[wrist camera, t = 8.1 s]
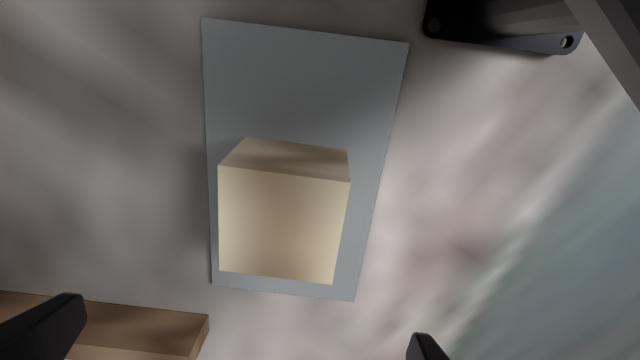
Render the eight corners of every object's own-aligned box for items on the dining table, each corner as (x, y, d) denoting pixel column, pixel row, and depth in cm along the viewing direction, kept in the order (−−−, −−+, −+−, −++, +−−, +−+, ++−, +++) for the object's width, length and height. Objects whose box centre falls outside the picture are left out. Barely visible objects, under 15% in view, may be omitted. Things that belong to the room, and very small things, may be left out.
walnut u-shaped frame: (184, -121, 11) (135, -177, 8) (208, 330, 21) (189, 373, 18) (-276, -181, 11) (-480, -258, 8) (-35, 302, 21) (-91, 340, 18)
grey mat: (408, 43, 13) (409, 43, 13) (353, 298, 19) (353, 302, 19) (203, 17, 13) (200, 16, 13) (214, 282, 19) (212, 285, 19)
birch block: (346, 149, 15) (350, 182, 11) (332, 233, 17) (331, 284, 13) (246, 136, 15) (217, 165, 11) (244, 221, 17) (219, 270, 13)
